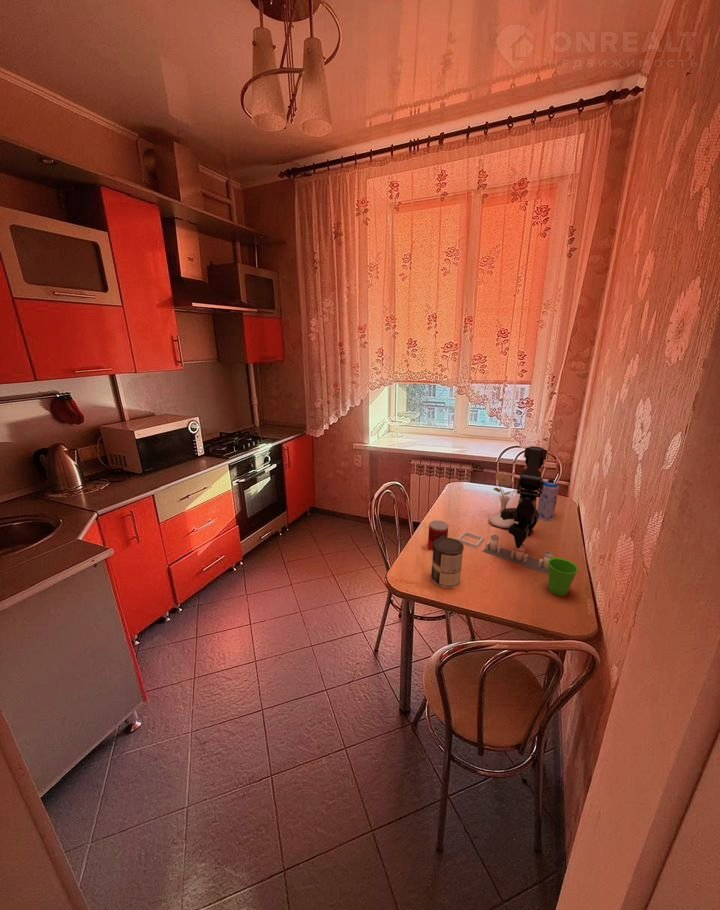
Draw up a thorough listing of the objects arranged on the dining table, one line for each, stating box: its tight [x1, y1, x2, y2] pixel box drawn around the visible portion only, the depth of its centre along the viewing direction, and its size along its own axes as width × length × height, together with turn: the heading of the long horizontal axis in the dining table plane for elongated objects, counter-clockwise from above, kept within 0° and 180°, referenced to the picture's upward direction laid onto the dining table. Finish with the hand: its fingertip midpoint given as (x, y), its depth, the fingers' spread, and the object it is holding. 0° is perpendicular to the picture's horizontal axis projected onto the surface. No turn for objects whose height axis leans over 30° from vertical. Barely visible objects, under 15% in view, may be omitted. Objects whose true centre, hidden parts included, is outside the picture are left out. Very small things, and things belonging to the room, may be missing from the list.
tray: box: [456, 530, 485, 549], centre depth 152 cm, size 9×9×2 cm
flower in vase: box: [488, 471, 515, 529], centre depth 166 cm, size 13×11×25 cm
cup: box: [548, 557, 579, 597], centre depth 120 cm, size 9×9×11 cm
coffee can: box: [430, 537, 465, 589], centre depth 126 cm, size 10×10×14 cm
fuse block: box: [481, 541, 549, 576], centre depth 140 cm, size 8×26×3 cm, turn 51°
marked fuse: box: [515, 543, 526, 561], centre depth 139 cm, size 3×3×6 cm
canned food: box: [427, 519, 449, 551], centre depth 147 cm, size 8×8×11 cm
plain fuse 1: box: [489, 534, 500, 552], centre depth 145 cm, size 3×3×6 cm
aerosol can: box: [536, 478, 560, 522], centre depth 174 cm, size 8×8×20 cm
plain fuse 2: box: [542, 551, 555, 571], centre depth 133 cm, size 3×3×6 cm
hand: (521, 543), depth 138 cm, fingers open, 9 cm apart
